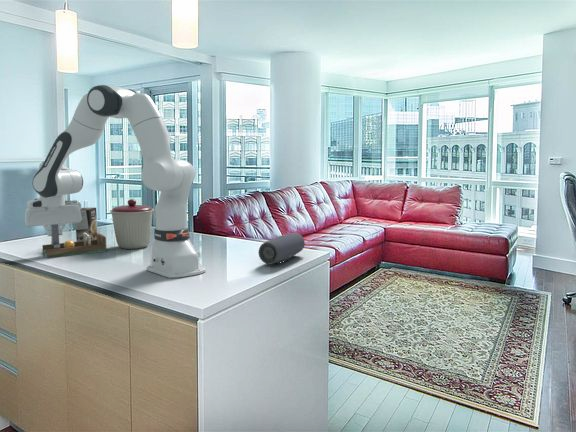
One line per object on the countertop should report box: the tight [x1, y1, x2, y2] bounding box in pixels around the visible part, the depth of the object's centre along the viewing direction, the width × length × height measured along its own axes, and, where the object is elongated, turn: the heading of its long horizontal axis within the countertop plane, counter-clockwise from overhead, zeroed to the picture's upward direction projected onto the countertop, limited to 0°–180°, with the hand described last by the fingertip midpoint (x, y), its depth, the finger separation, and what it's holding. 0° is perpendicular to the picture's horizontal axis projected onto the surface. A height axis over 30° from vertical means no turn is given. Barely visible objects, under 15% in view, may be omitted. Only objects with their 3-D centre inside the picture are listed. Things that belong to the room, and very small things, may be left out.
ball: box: [63, 239, 75, 248], centre depth 182 cm, size 4×4×4 cm
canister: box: [109, 198, 155, 250], centre depth 193 cm, size 18×18×21 cm
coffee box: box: [75, 207, 99, 242], centre depth 199 cm, size 9×6×16 cm
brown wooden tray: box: [42, 232, 107, 259], centre depth 183 cm, size 12×22×7 cm, turn 126°
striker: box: [50, 224, 60, 249], centre depth 179 cm, size 8×2×11 cm, turn 36°
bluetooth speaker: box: [258, 232, 306, 265], centre depth 171 cm, size 23×9×10 cm, turn 152°
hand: (55, 235), depth 179 cm, fingers closed on striker, 2 cm apart
